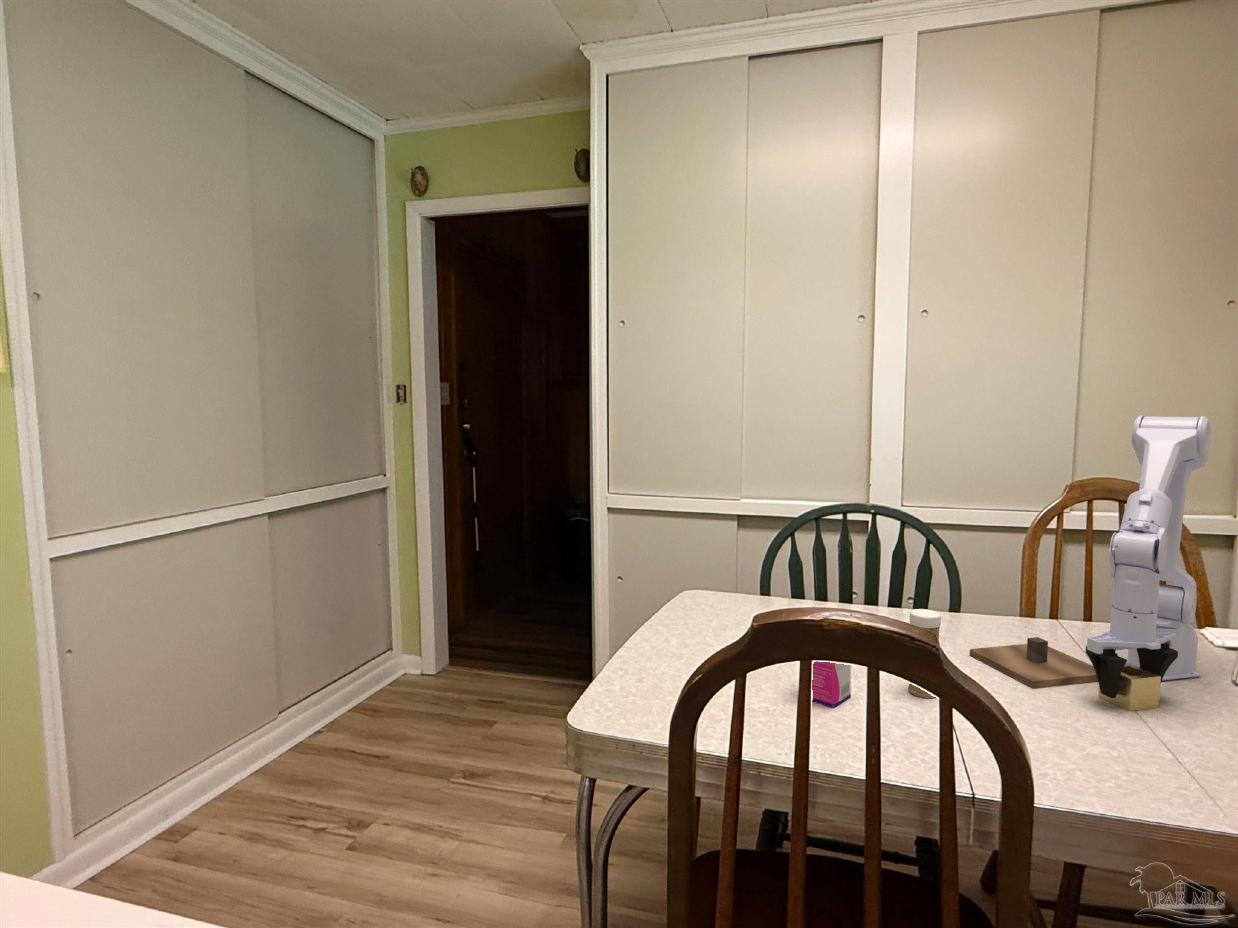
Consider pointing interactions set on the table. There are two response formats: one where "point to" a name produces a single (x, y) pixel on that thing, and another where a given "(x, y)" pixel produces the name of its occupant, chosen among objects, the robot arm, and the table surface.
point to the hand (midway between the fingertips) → (1128, 693)
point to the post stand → (1036, 664)
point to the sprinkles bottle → (929, 622)
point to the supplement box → (831, 683)
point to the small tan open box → (1136, 689)
